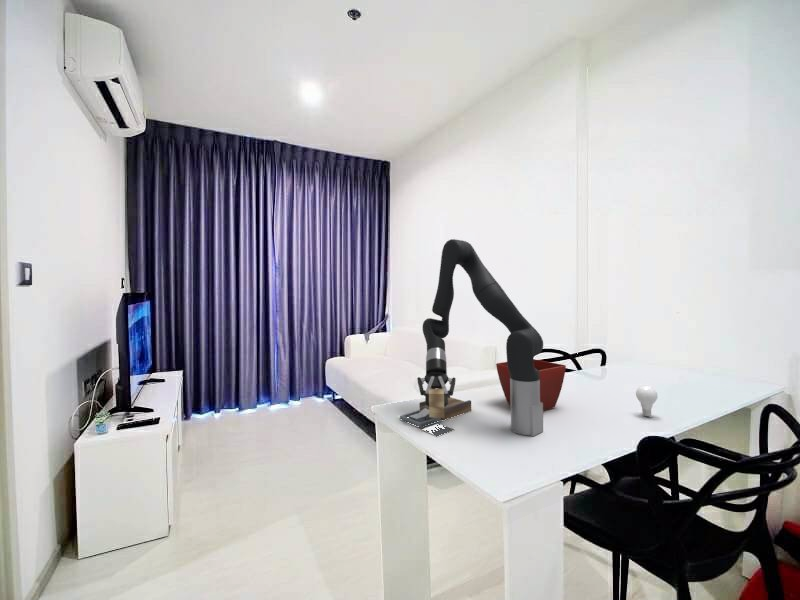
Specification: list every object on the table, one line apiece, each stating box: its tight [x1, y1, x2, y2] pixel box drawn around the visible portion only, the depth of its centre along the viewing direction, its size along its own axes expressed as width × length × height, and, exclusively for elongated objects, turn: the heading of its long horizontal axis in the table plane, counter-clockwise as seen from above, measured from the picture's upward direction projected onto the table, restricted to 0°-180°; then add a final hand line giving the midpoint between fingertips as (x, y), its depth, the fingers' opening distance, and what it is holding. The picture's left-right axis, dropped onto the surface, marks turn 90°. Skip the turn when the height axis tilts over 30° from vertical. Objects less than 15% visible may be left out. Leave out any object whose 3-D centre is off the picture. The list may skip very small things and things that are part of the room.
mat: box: [426, 422, 455, 437], centre depth 122 cm, size 8×8×1 cm
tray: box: [399, 409, 441, 428], centre depth 132 cm, size 11×10×2 cm
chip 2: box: [418, 408, 429, 420], centre depth 133 cm, size 4×4×2 cm
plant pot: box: [495, 358, 567, 411], centre depth 144 cm, size 19×19×17 cm
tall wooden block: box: [429, 388, 444, 418], centre depth 124 cm, size 5×6×8 cm
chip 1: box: [409, 414, 425, 422], centre depth 131 cm, size 4×4×2 cm
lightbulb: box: [635, 385, 658, 418], centre depth 129 cm, size 6×6×11 cm
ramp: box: [419, 396, 472, 421], centre depth 140 cm, size 12×16×4 cm
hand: (436, 405), depth 123 cm, fingers closed on tall wooden block, 5 cm apart
